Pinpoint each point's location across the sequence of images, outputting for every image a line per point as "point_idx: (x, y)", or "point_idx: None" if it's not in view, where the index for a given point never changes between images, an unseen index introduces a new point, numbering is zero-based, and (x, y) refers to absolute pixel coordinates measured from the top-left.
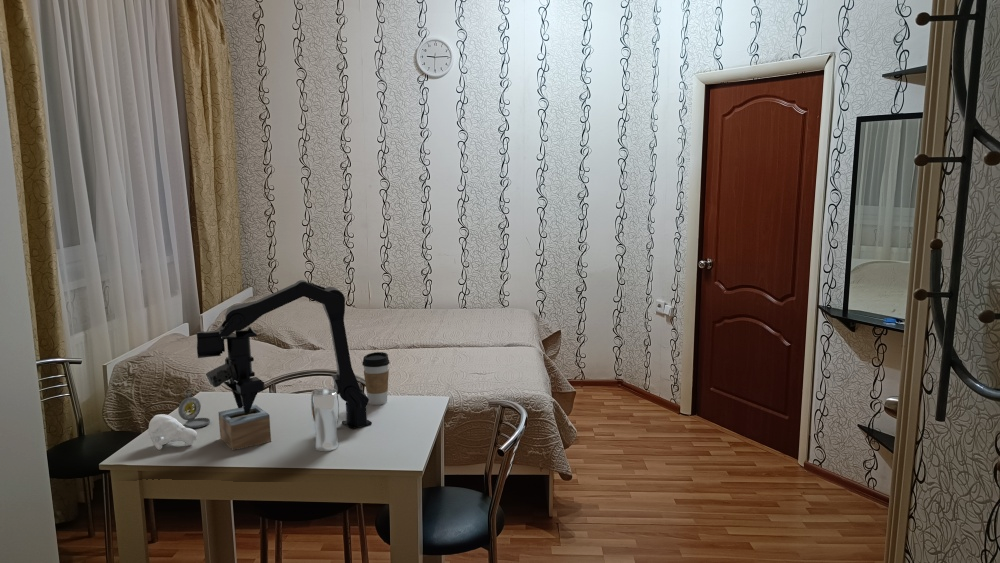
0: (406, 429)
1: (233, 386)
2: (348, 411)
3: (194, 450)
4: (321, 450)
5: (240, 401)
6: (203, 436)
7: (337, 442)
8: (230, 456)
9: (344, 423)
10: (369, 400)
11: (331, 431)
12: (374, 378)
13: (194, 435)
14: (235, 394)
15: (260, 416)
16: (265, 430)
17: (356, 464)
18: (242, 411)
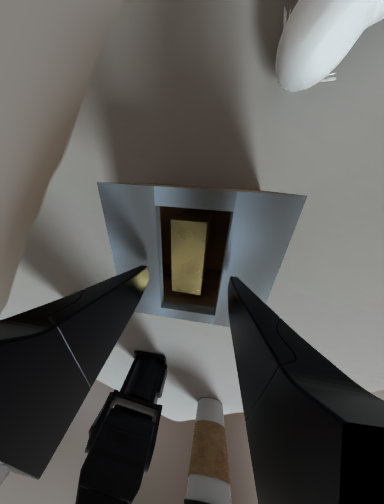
0: (104, 371)
1: (313, 446)
2: (136, 380)
3: (227, 71)
4: (70, 294)
5: (232, 306)
6: (328, 152)
7: None
8: (115, 161)
9: (154, 356)
10: (209, 405)
11: None
12: (194, 460)
13: (282, 58)
14: (254, 333)
15: None
16: None
17: (13, 296)
18: (221, 276)
